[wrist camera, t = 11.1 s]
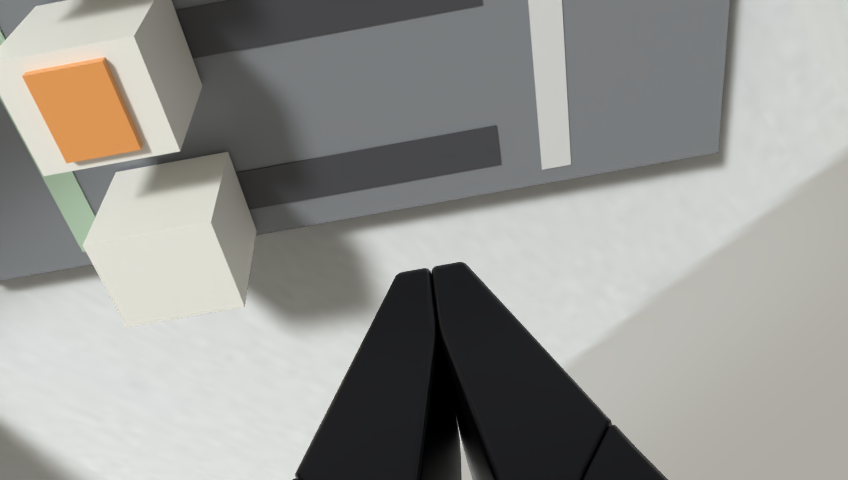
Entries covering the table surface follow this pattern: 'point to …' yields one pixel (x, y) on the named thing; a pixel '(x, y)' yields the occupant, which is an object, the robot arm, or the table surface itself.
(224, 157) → the plain ivory cube
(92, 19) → the orange patched ivory cube
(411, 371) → the robot arm
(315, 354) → the table surface
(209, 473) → the table surface
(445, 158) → the panel
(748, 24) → the table surface
